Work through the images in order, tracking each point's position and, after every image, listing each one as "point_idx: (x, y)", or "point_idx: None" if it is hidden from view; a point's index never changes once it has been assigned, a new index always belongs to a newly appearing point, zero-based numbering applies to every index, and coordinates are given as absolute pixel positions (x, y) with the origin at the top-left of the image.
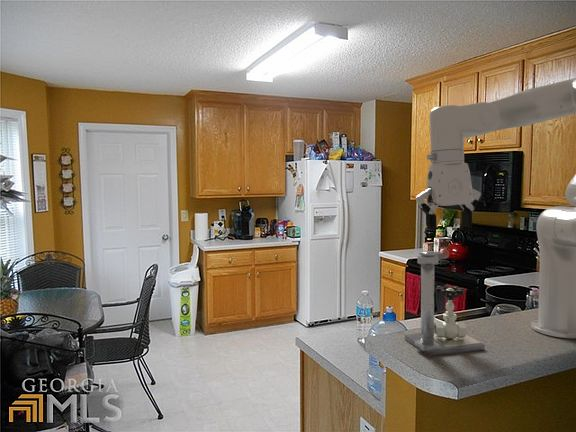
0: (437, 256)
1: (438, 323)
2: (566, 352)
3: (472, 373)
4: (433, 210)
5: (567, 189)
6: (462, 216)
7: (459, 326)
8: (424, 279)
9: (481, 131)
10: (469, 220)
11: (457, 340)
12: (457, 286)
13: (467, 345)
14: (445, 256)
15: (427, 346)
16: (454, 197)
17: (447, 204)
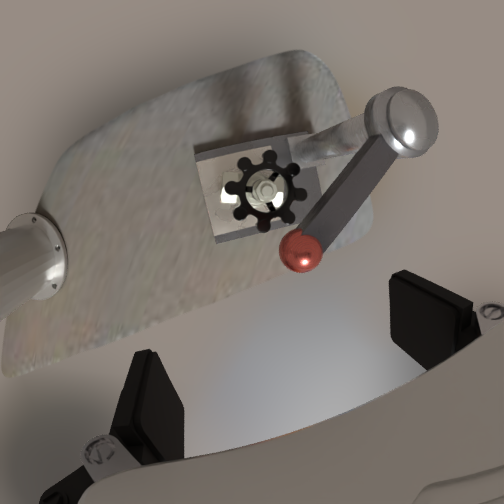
0: (380, 103)
1: (278, 187)
2: (68, 149)
3: (259, 65)
4: (490, 322)
5: None
6: (178, 446)
7: (236, 176)
8: None
9: None
10: (144, 377)
11: None
12: (236, 213)
13: (228, 151)
14: (301, 223)
15: (311, 134)
16: (436, 460)
17: (465, 346)
